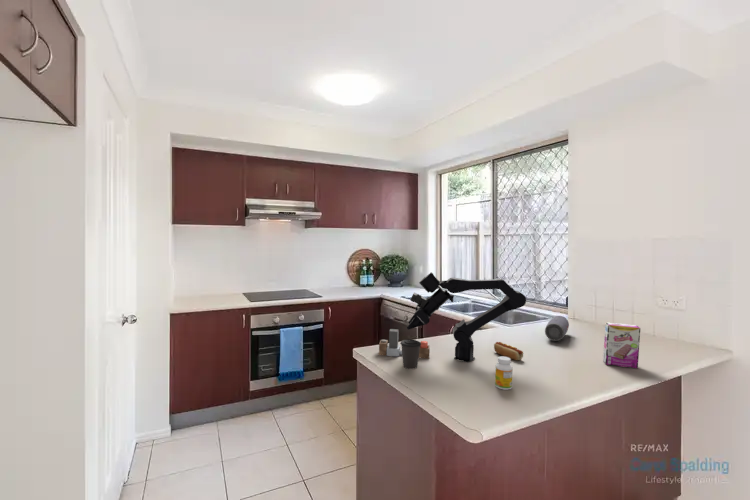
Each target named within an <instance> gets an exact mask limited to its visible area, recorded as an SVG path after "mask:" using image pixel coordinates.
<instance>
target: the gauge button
mask: <svg viewBox="0 0 750 500" xmlns="http://www.w3.org/2000/svg"><path fill="white" fill-rule="evenodd" d="M420 343H421V346H420V348H427V349H428V345H429V344H428V341H426V340H421V341H420Z"/></svg>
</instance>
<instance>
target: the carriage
mask: <svg viewBox="0 0 750 500" xmlns="http://www.w3.org/2000/svg"><path fill="white" fill-rule="evenodd" d="M388 332H389V335H388V347H387V355H386V356H387V357H388V356H389V357H399V356H400V355H399V350H401V344H399V329H395V328H390V329H389V331H388Z"/></svg>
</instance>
